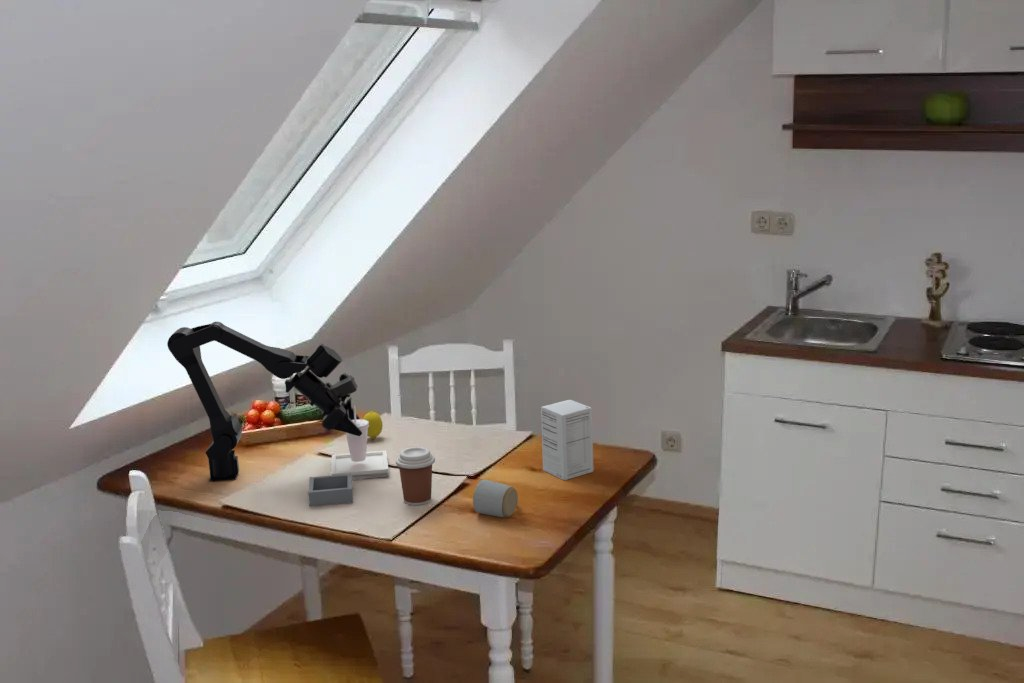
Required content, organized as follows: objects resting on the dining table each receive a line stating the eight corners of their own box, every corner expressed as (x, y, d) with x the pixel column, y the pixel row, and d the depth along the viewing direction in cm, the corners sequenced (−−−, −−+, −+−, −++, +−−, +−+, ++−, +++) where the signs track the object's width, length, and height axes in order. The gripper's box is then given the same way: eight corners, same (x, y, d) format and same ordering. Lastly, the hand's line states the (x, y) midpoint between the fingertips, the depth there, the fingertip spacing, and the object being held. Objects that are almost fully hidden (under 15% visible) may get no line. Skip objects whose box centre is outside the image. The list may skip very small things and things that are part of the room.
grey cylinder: (505, 523, 232) (504, 490, 231) (472, 517, 236) (471, 485, 234) (526, 506, 242) (525, 475, 240) (494, 501, 245) (493, 470, 243)
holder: (309, 506, 245) (308, 492, 244) (310, 490, 255) (309, 477, 254) (352, 502, 247) (351, 488, 246) (352, 487, 256) (351, 473, 255)
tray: (331, 481, 260) (331, 473, 260) (332, 462, 274) (331, 454, 273) (388, 476, 262) (388, 469, 262) (386, 457, 276) (386, 450, 275)
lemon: (359, 441, 289) (357, 413, 287) (369, 434, 294) (367, 407, 292) (377, 443, 287) (375, 415, 285) (386, 436, 292) (385, 409, 290)
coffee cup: (435, 491, 252) (432, 443, 249) (439, 505, 243) (436, 456, 240) (396, 494, 251) (393, 447, 248) (399, 509, 242) (396, 460, 239)
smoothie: (366, 453, 272) (363, 401, 268) (374, 460, 266) (371, 407, 263) (342, 457, 269) (338, 405, 266) (350, 465, 263) (346, 411, 260)
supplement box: (572, 461, 268) (570, 398, 264) (594, 472, 261) (593, 406, 257) (541, 470, 263) (539, 405, 259) (563, 481, 256) (562, 414, 252)
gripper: (333, 377, 252) (381, 419, 256) (340, 357, 270) (385, 397, 274) (302, 410, 254) (350, 451, 257) (311, 388, 272) (356, 427, 275)
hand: (362, 430), depth 266 cm, fingers closed on smoothie, 6 cm apart
